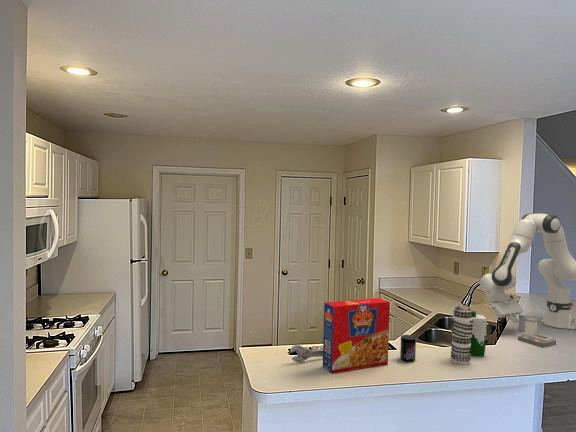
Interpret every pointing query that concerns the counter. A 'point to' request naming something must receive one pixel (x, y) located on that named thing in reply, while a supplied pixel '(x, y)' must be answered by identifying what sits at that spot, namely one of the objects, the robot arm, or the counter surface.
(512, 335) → the counter surface
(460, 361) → the leaning tower model
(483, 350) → the milk carton
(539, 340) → the switch panel
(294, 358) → the wrench
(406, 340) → the supplement container
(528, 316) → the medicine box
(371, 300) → the pasta box
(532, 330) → the switch tab
